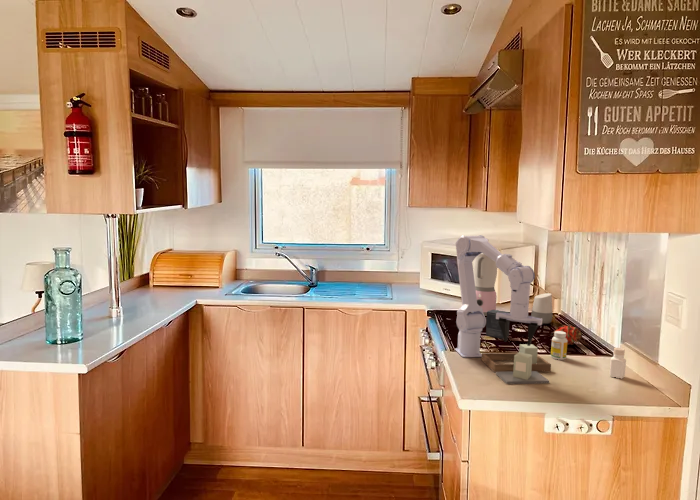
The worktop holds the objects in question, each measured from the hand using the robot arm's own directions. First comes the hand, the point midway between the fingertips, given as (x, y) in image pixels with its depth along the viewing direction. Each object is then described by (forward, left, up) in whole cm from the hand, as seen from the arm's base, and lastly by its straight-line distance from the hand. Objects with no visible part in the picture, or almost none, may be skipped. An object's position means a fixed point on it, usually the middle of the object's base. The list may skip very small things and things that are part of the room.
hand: (517, 343), depth 172 cm
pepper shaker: (+5, +33, -11) cm, 35 cm away
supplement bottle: (-15, +23, -11) cm, 30 cm away
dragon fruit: (-32, +35, -11) cm, 49 cm away
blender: (-82, +18, -11) cm, 85 cm away
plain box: (-7, +8, -10) cm, 15 cm away
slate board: (+5, 0, -10) cm, 12 cm away
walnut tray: (-7, +3, -10) cm, 13 cm away
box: (-44, +11, -11) cm, 47 cm away
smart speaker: (-66, +41, -11) cm, 79 cm away
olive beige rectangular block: (+5, 0, -10) cm, 11 cm away
